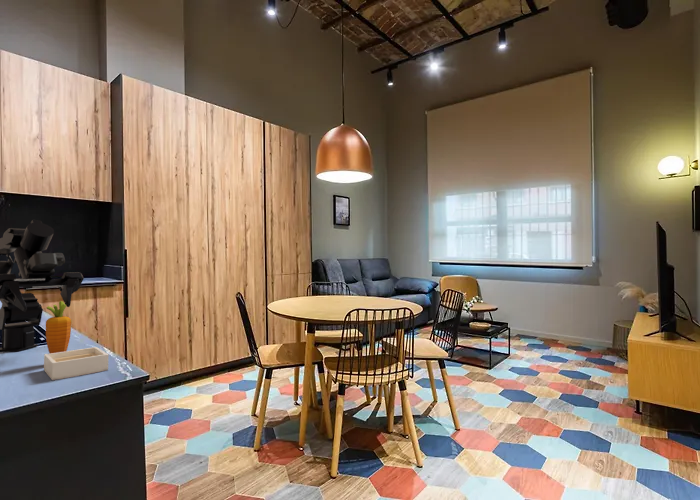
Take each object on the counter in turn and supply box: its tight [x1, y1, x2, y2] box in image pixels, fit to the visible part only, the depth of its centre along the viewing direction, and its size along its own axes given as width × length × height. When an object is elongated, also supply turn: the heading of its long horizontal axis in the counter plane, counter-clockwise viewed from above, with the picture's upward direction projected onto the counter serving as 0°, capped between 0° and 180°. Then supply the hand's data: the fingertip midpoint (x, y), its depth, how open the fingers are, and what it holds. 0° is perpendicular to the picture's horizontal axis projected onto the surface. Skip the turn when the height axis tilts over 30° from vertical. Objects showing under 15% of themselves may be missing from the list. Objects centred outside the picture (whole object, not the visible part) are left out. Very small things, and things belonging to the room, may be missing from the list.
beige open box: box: [43, 346, 110, 381], centre depth 86 cm, size 10×10×4 cm
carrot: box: [45, 300, 72, 354], centre depth 92 cm, size 5×5×15 cm
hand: (47, 307), depth 95 cm, fingers open, 9 cm apart
